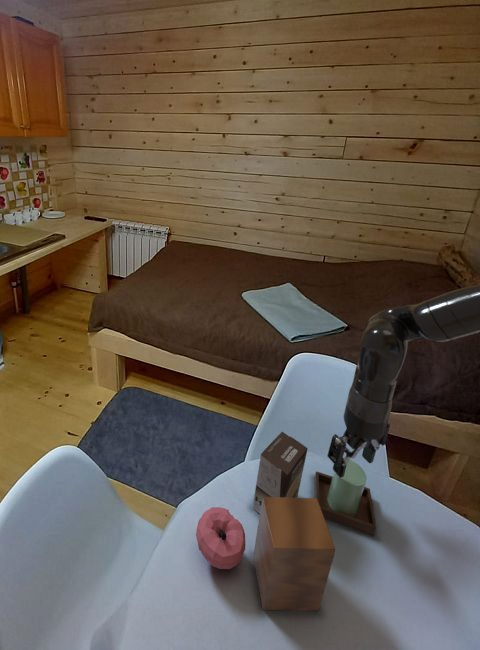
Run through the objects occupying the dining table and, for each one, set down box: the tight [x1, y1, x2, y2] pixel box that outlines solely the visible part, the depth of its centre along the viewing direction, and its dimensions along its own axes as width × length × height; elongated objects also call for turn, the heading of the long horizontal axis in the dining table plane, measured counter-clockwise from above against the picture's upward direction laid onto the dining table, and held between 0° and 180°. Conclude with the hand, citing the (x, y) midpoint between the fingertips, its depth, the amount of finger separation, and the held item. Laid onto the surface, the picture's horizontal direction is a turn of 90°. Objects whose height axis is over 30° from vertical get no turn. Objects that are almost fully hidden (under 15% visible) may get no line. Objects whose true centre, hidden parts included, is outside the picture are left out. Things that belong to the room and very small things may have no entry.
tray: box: [313, 470, 377, 537], centre depth 77 cm, size 12×9×3 cm
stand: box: [252, 497, 337, 612], centre depth 61 cm, size 10×8×17 cm
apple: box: [195, 506, 246, 570], centre depth 66 cm, size 10×9×10 cm
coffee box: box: [252, 431, 308, 515], centre depth 75 cm, size 9×6×16 cm
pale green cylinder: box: [327, 459, 368, 517], centre depth 76 cm, size 6×6×10 cm
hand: (353, 466), depth 74 cm, fingers open, 8 cm apart
